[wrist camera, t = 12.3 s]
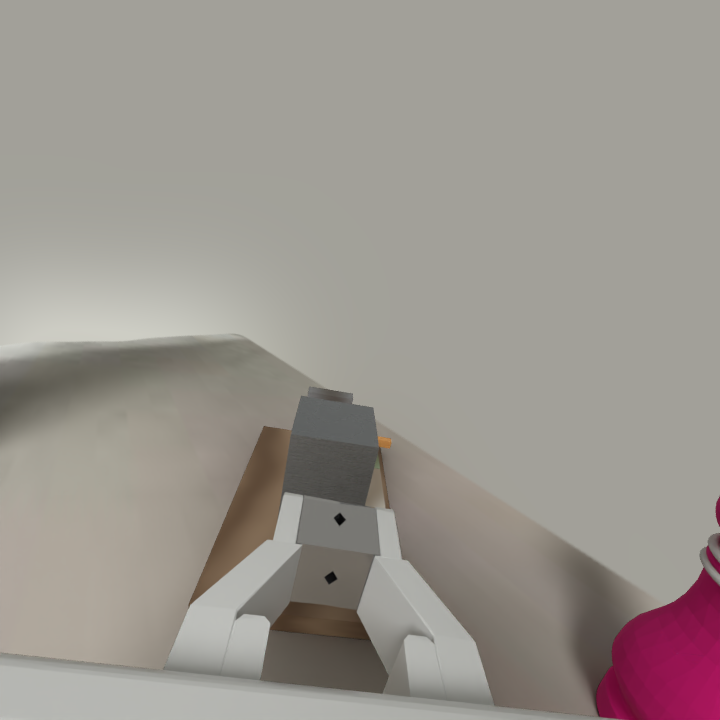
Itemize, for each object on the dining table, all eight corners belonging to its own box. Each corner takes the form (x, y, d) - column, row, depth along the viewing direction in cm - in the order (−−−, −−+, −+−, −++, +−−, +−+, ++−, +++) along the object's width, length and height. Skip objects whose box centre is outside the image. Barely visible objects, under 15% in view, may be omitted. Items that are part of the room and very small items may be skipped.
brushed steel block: (266, 592, 24) (290, 434, 20) (288, 490, 34) (308, 369, 30) (341, 600, 25) (379, 447, 21) (342, 498, 34) (369, 379, 30)
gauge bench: (187, 621, 23) (193, 528, 21) (262, 437, 44) (269, 379, 42) (402, 643, 25) (431, 558, 22) (377, 454, 45) (390, 400, 43)
